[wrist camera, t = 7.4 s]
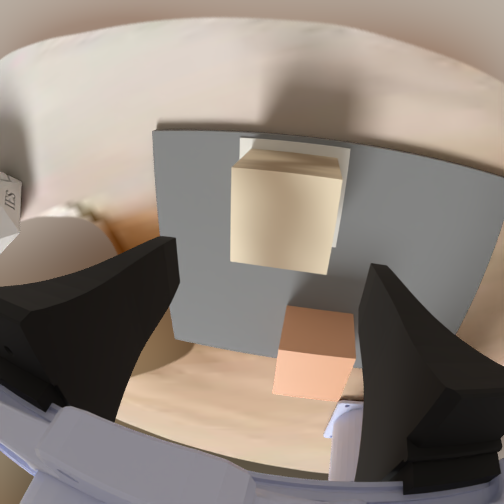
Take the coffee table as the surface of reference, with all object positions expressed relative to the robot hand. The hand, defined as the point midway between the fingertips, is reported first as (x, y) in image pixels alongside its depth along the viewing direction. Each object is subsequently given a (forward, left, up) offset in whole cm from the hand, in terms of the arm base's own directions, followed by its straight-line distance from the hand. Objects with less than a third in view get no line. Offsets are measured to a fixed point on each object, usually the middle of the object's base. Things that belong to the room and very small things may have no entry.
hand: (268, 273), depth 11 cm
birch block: (0, 0, -9) cm, 9 cm away
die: (+27, +2, -10) cm, 29 cm away
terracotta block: (-3, +11, -9) cm, 14 cm away
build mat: (-3, +5, -9) cm, 11 cm away
